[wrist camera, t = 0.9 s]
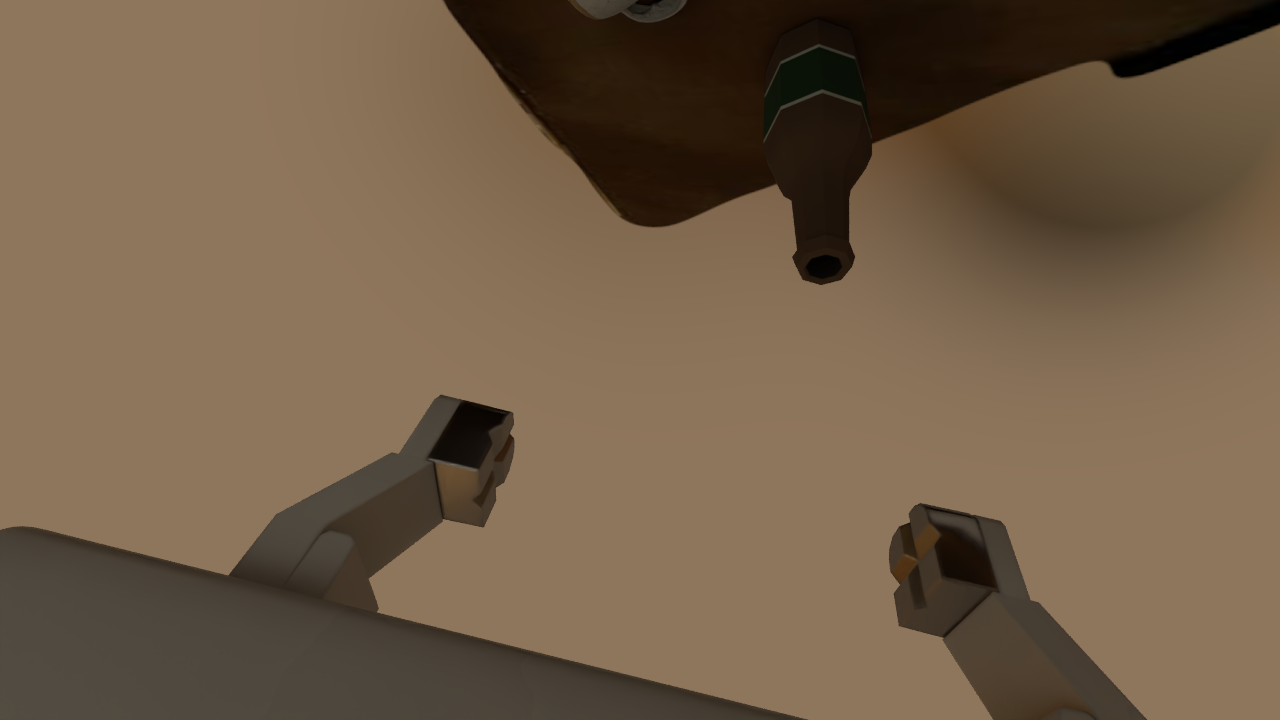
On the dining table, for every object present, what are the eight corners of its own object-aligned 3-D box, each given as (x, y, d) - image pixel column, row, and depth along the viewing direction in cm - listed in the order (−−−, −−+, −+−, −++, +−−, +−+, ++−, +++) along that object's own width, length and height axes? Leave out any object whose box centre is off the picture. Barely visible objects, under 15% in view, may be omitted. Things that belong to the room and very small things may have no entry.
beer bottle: (746, 66, 52) (734, 269, 38) (818, -7, 46) (835, 199, 33) (806, 120, 55) (815, 324, 42) (880, 58, 49) (918, 268, 36)
